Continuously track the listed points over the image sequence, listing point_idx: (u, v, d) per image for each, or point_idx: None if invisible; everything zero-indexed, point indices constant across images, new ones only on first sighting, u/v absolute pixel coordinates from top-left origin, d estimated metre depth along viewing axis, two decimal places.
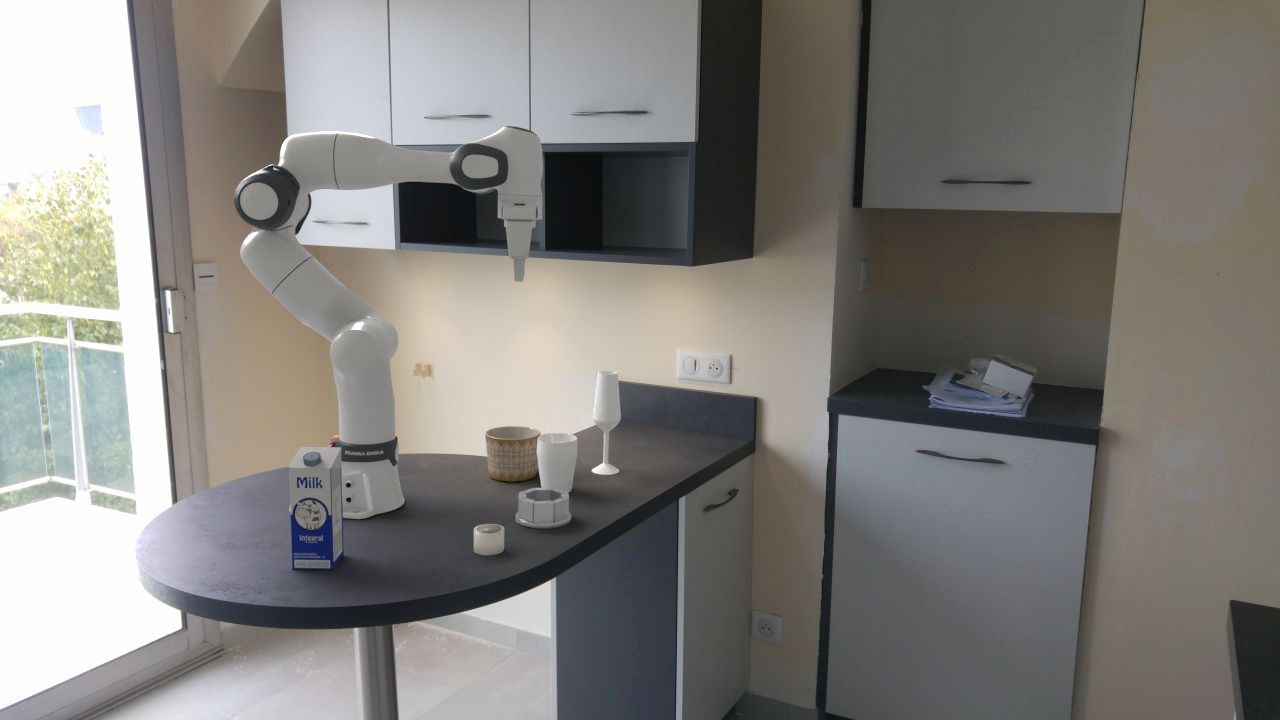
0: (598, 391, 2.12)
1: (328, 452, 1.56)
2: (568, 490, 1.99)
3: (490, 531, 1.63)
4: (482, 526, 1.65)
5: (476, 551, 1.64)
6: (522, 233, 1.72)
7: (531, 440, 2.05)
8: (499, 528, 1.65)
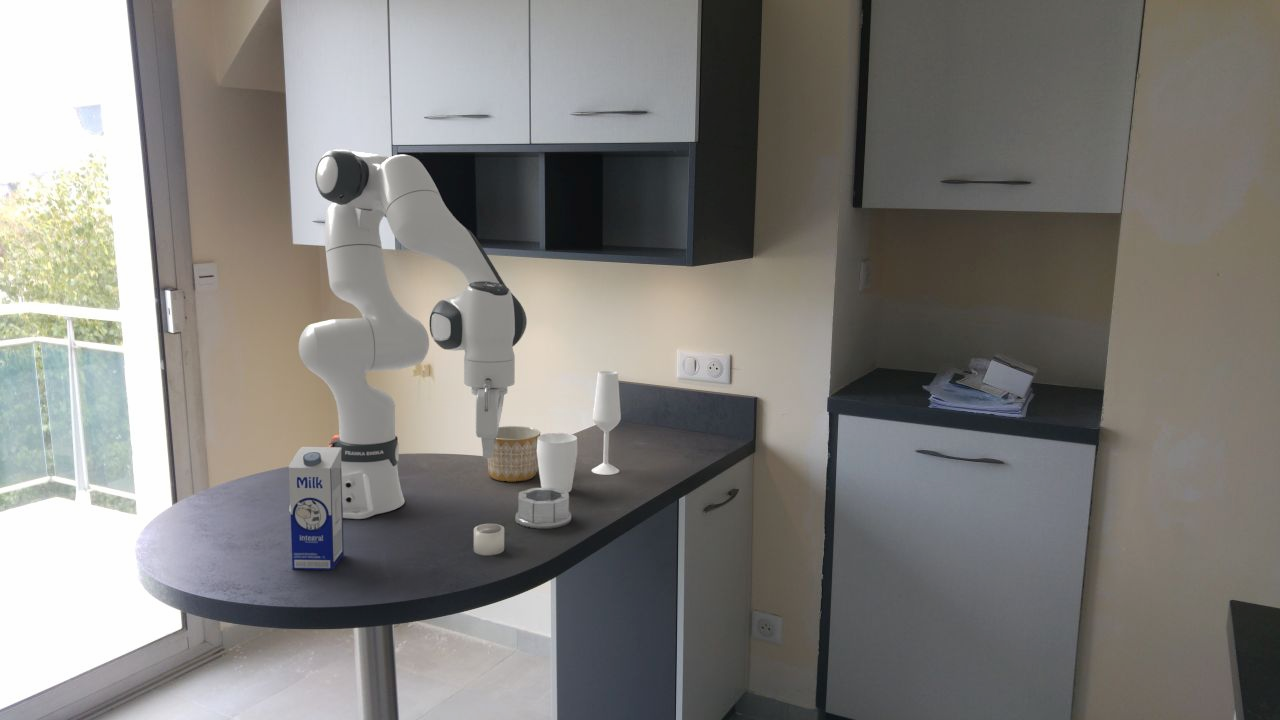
0: (598, 391, 2.12)
1: (328, 452, 1.56)
2: (568, 490, 1.99)
3: (490, 531, 1.63)
4: (482, 526, 1.65)
5: (476, 551, 1.64)
6: None
7: (531, 440, 2.05)
8: (499, 528, 1.65)
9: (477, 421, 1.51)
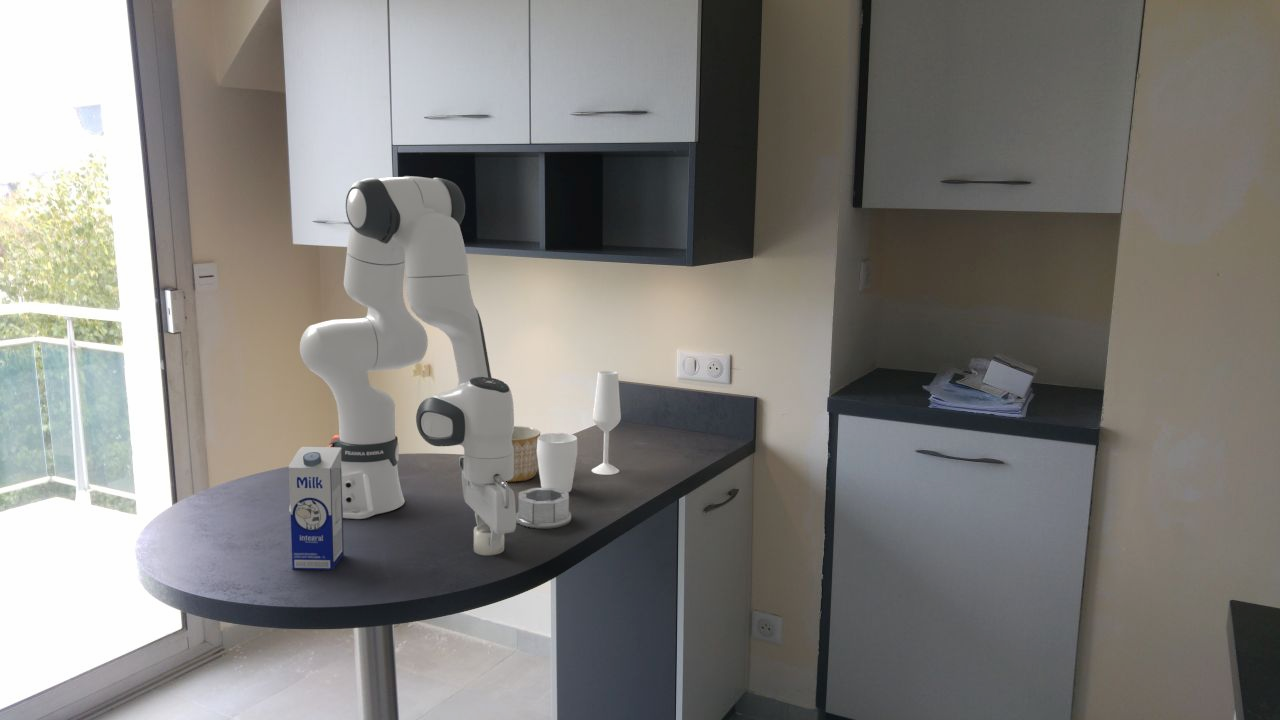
0: (598, 391, 2.12)
1: (328, 452, 1.56)
2: (568, 490, 1.99)
3: (490, 531, 1.63)
4: (482, 526, 1.65)
5: (476, 551, 1.63)
6: None
7: (531, 440, 2.05)
8: None
9: (498, 519, 1.55)
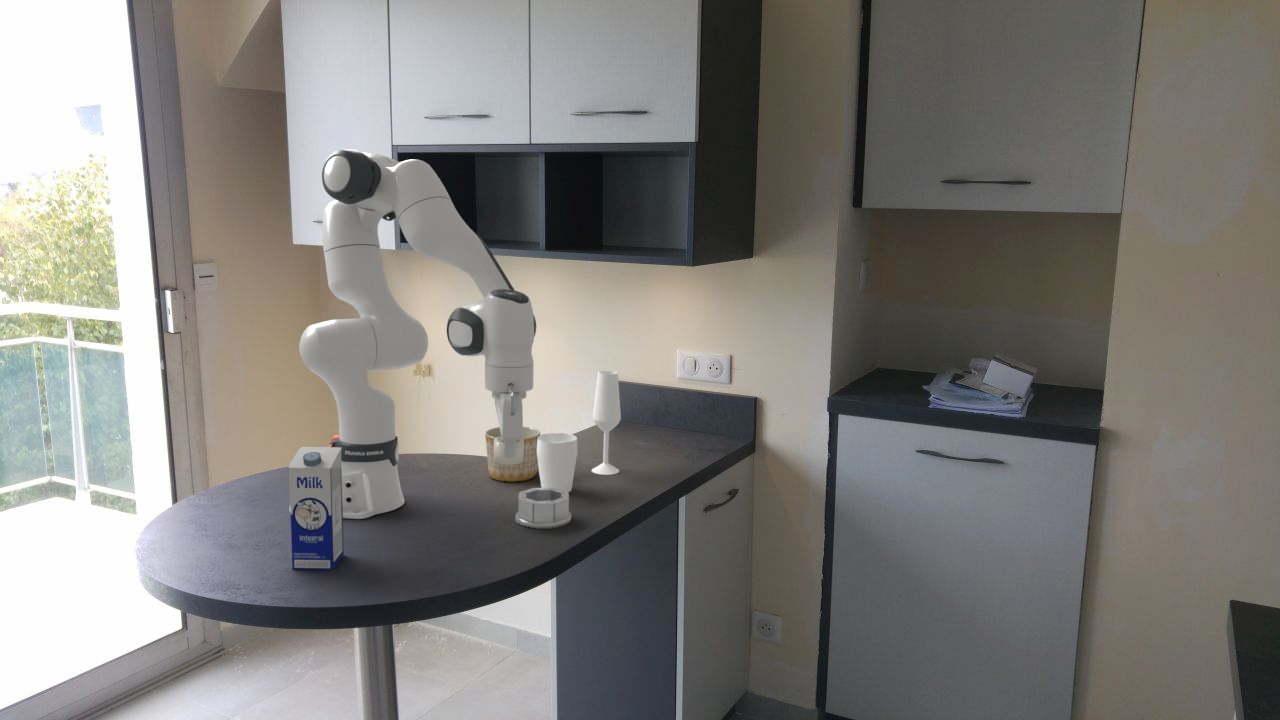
0: (598, 391, 2.12)
1: (328, 452, 1.56)
2: (568, 490, 1.99)
3: None
4: None
5: (494, 460, 1.67)
6: None
7: (531, 440, 2.05)
8: None
9: (503, 425, 1.57)
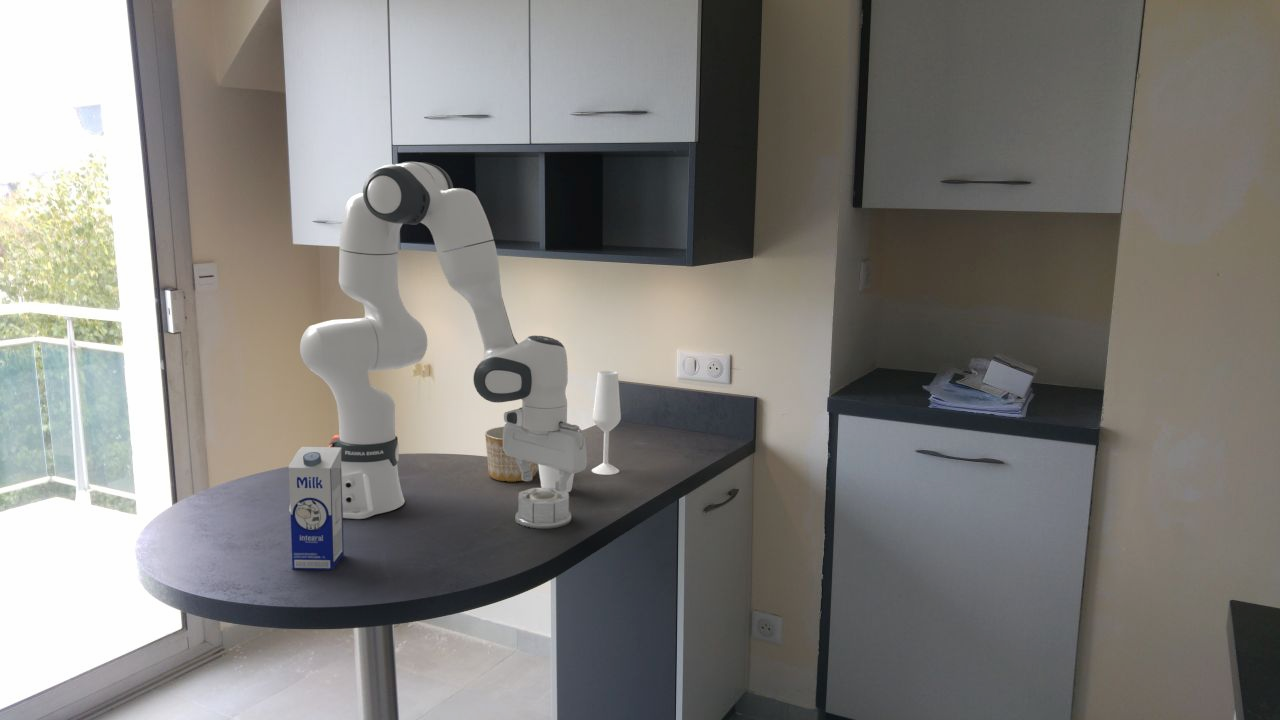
0: (598, 391, 2.12)
1: (328, 452, 1.56)
2: (568, 490, 1.99)
3: (548, 496, 1.80)
4: (536, 494, 1.82)
5: None
6: None
7: None
8: (552, 493, 1.82)
9: (576, 459, 1.73)
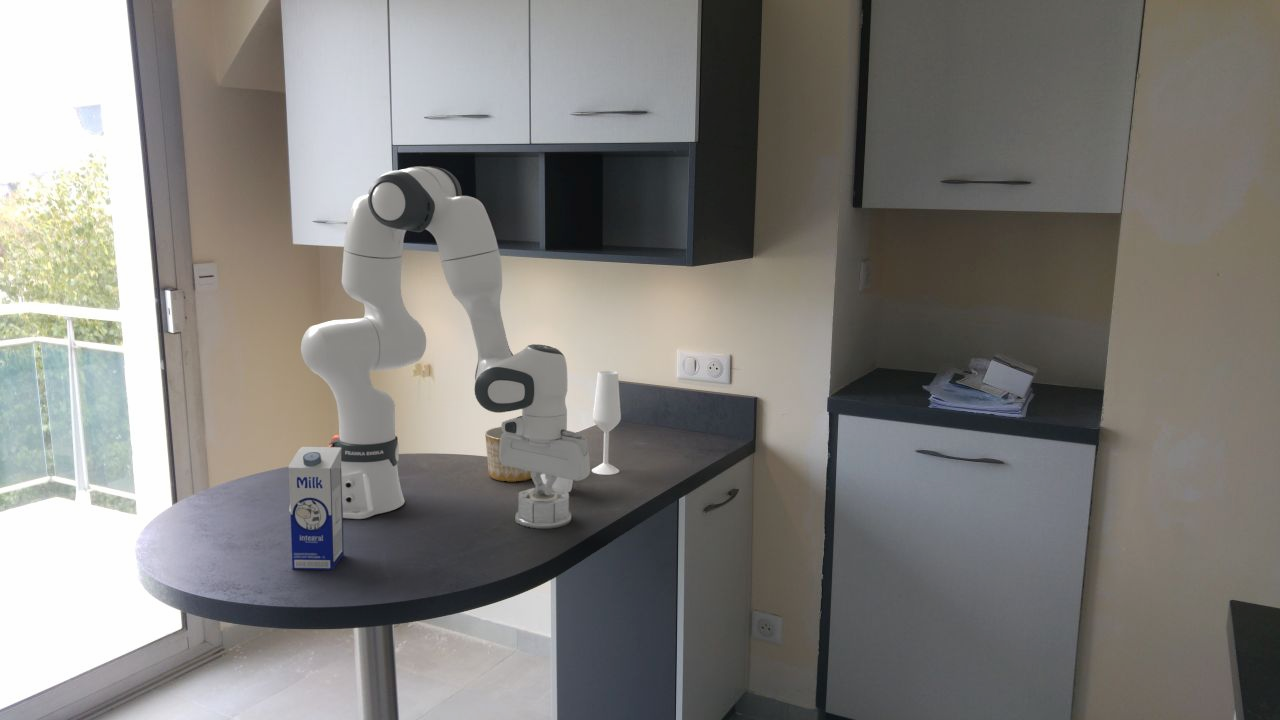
0: (598, 391, 2.12)
1: (328, 452, 1.56)
2: (568, 490, 1.99)
3: (548, 496, 1.80)
4: (536, 494, 1.82)
5: None
6: None
7: None
8: (552, 493, 1.82)
9: (580, 467, 1.74)
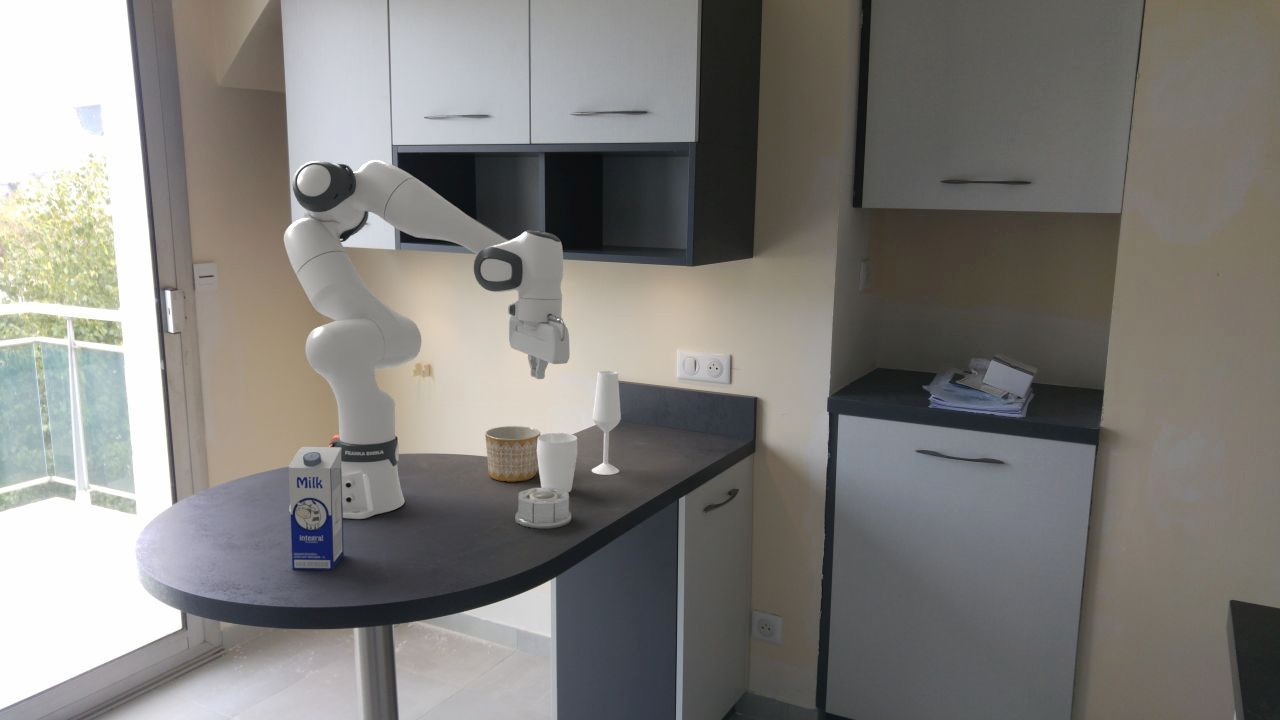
0: (598, 391, 2.12)
1: (328, 452, 1.56)
2: (568, 490, 1.99)
3: (548, 496, 1.80)
4: (536, 494, 1.81)
5: None
6: None
7: (531, 440, 2.05)
8: (552, 493, 1.82)
9: (555, 350, 1.76)
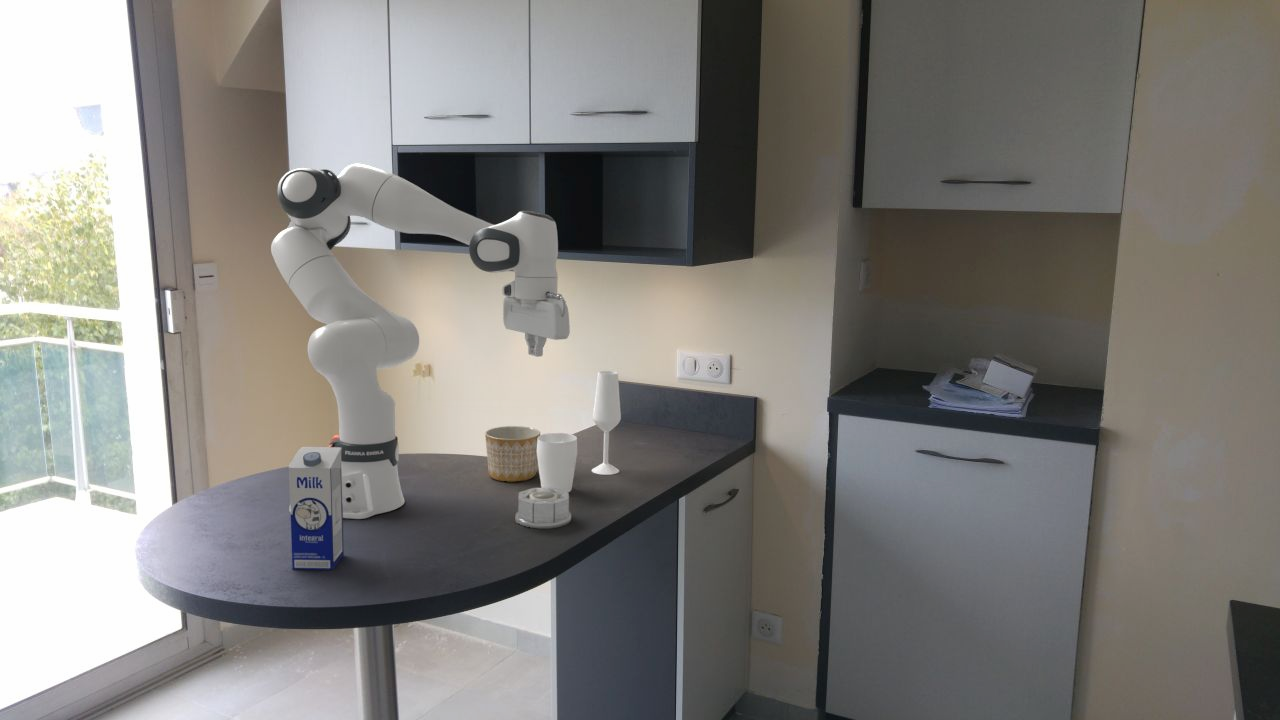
0: (598, 391, 2.12)
1: (328, 452, 1.56)
2: (568, 490, 1.99)
3: (548, 496, 1.80)
4: (536, 494, 1.82)
5: None
6: None
7: (531, 440, 2.05)
8: (552, 493, 1.82)
9: (556, 325, 1.81)
